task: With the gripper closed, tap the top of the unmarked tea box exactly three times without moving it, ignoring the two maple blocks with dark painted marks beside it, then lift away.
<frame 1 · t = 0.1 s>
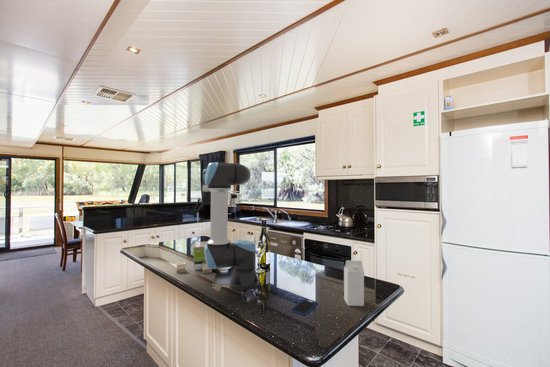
hand: (207, 221, 178), 28 cm above the kitchen island, tool pointing down, fingers open, 13 cm apart
marked block A: (180, 271, 159), on the kitchen island
marked block B: (206, 271, 159), on the kitchen island
tea box: (201, 266, 169), on the kitchen island
cell phone: (304, 308, 112), on the kitchen island
milk carton: (353, 303, 116), on the kitchen island
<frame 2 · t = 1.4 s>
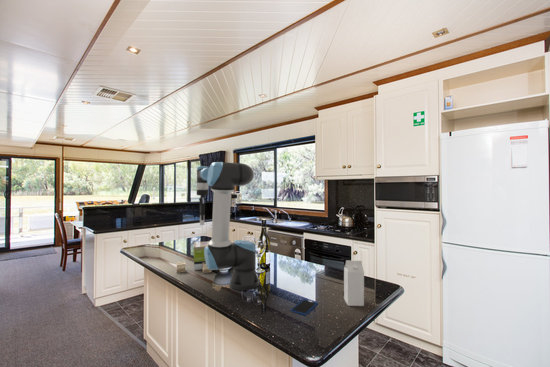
hand: (202, 224, 170), 27 cm above the kitchen island, tool pointing down, fingers closed
nothing on the kitchen island moved.
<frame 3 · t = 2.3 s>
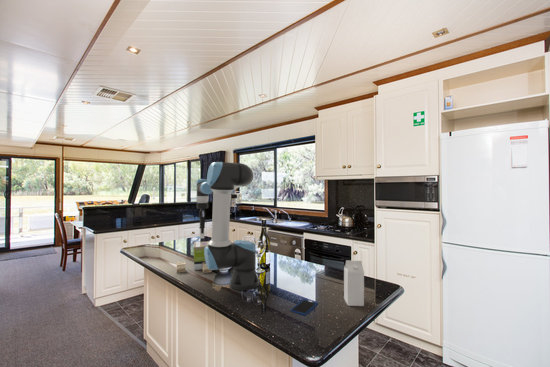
hand: (202, 238, 169), 18 cm above the kitchen island, tool pointing down, fingers closed
nothing on the kitchen island moved.
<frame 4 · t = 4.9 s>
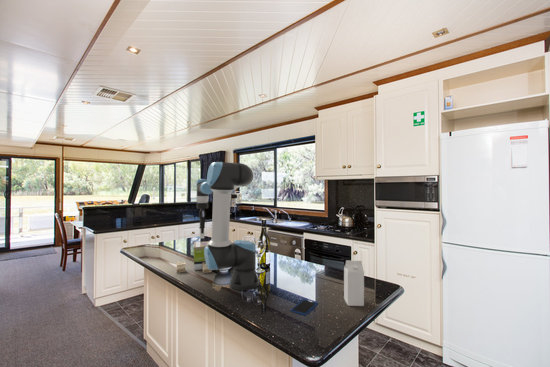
hand: (202, 238, 169), 18 cm above the kitchen island, tool pointing down, fingers closed
nothing on the kitchen island moved.
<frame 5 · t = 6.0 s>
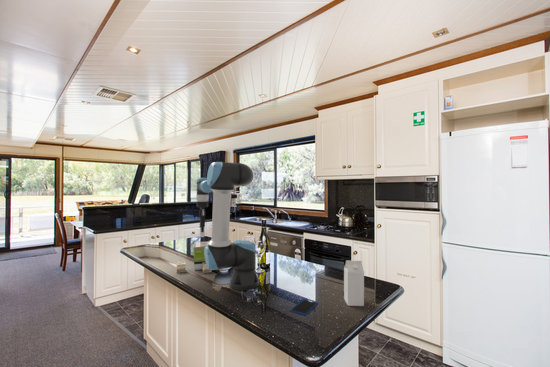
hand: (202, 236, 169), 19 cm above the kitchen island, tool pointing down, fingers closed
nothing on the kitchen island moved.
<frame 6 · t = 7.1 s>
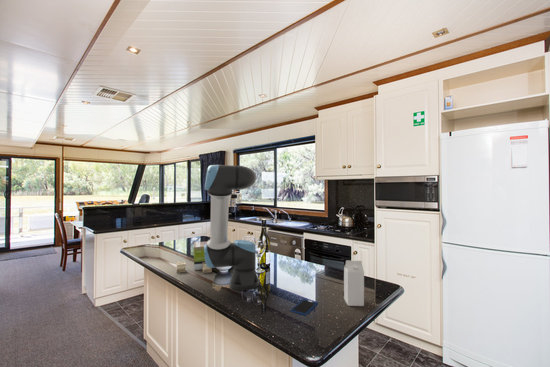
hand: (216, 229, 167), 25 cm above the kitchen island, tool pointing down, fingers closed
nothing on the kitchen island moved.
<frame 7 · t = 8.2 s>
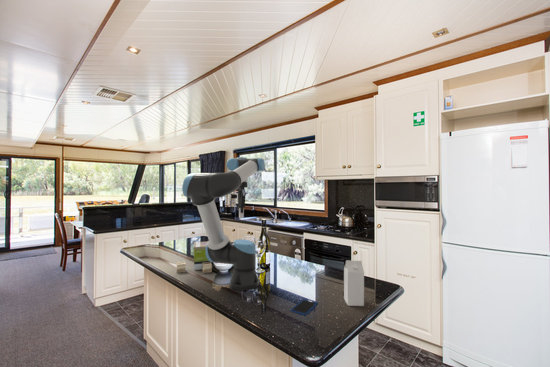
hand: (241, 217, 165), 32 cm above the kitchen island, tool pointing down, fingers closed
nothing on the kitchen island moved.
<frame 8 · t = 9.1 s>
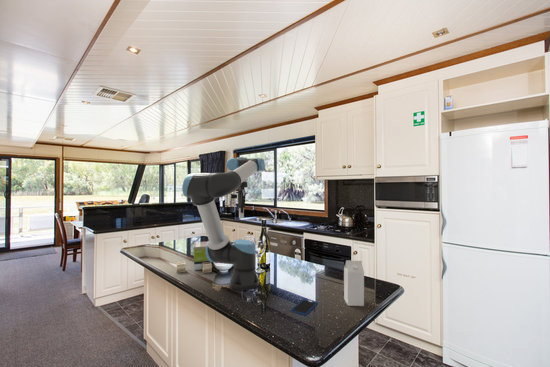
hand: (241, 217, 165), 32 cm above the kitchen island, tool pointing down, fingers closed
nothing on the kitchen island moved.
at the end: tea box moved 0.3 cm from its start; tea box tilted 0°; marked block A moved 0.1 cm from its start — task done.
